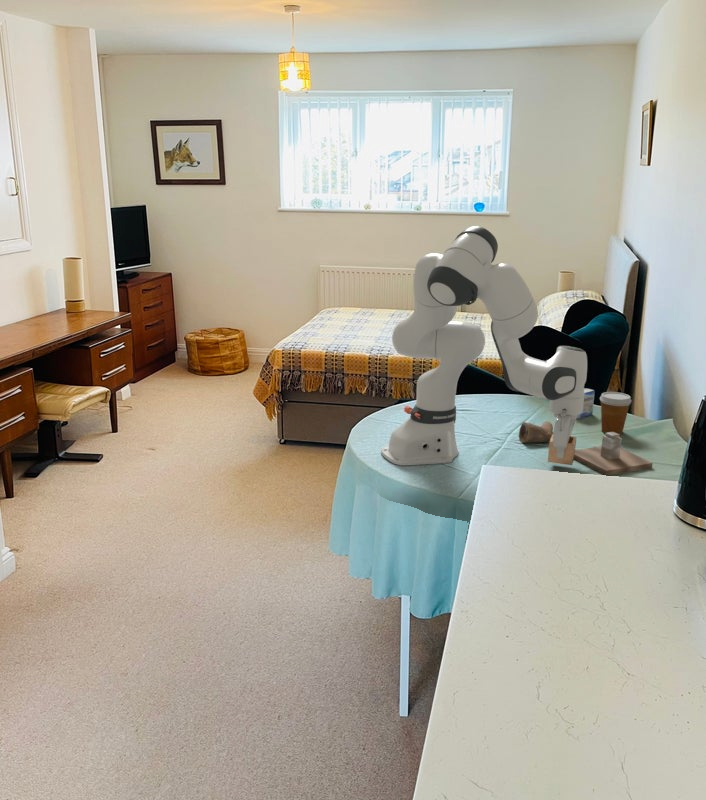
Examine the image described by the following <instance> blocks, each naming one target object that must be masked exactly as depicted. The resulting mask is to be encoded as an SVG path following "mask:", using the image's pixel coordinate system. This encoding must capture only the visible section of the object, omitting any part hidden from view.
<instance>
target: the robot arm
mask: <svg viewBox="0 0 706 800" xmlns="http://www.w3.org/2000/svg"><path fill="white" fill-rule="evenodd" d="M498 249H499V245H498V240H497V238H496V237H495V235H494V234H493V233H492V232H490V231H489V230H488V229H486V228H484V227H481V226H478V225H475V226H473V225H472V226H469V227H467V228H465V229H464V230H463V231H461V232H460V233H459V234H458V235H457V236H456V238H455V239H454V240H453V241H452V242H451V244H450V245H449V246H448V247H447V248H446V249H445V251H444V253H442V254H441V253H439V252H431V253H427V254H425V255H424V256H421V257H420V258H419V259H418V260H417V262H416V265H415V267H414V275H413V297H414V306H413V307H414V310H413V313H412V314H411V315H410V316H408V317H407V318H405V319H403V320H401V321H400V322H398V323H397V325H396V326H395V327H394V329H393V332H392V336H391V338H392V339H391V340H392V345H393V348H394V349H395V351H396V353H397V354H398V355H402V356H405V357H408V358H413V359H424V360H425V359H428V360H437V361H439V365H438V366H436V367H435V368H432V369H430V370H427V371H426V372H424V373H422V374H421V375H420V376H418V378H417V381H416V401H415V402H416V403H415V404H414V406H413V408H412V407H410V406H409V405H406V406H404V408H403V411H404V412H405V413H406V414H407V415H410V418H408V419H407V420H406V421H404V422H403V423H402V424H401V425H399V427H397V428H395V429H394V430H393V431H392V432H391V434H390V437H389V442H388V443H389V444H388V445H386V446H383V447H381V451H380V452H381V455H382V456H383V458H384V459H386V460H387V461H389V462H391V463H392V464H395V465H399V466H417V465H435V464H451V463H452V462H453V459H454V458H456V457H457V456H458V455H459V451H458V450H459V449H458V446H457V439H456V430H455V429H456V428H455V424H456V420H457V419H456V418H457V405H456V394H457V387H458V381H459V378H460V376H461V374H462V372H463V371H464V370H465V368H466V367H467V366H468V365H469V364H470V363H471V362H472V361H475V360H476V359H477V358H479V357H480V355H482V353H483V351H484V348H485V346H486V345H485V343H486V338H485V334H484V331H483V330H482V328H481V327H480V326H479V324H475V323H472V322H466V321H463V320H461V321H460V320H453V319H454V317H455V316H456V314H457V311H458V306H462V305H467V306H469V305H472V304H474V303H475V302H476V301H477V299H479V300H480V301H481V302H482V303H483V305H484V306H485V308H486V311H487V312H488V315H489V317H490V319H491V322H490V323H491V324H490V332H491V336H492V339H493V342H494V345H495V348H496V351H497V354H498V356H499V359H500V362H501V366H502V372H503V373H502V374H503V380H504V383H505V385H506V387H507V388H508V389H510V390H512V391H514V392H518V393H524V394H527V395H530V396H533V397H537V398H540V399H542V400H548V401H549V411H550V412H552V413H553V416H554V418H555V419H554V420H555V421H554V424H553V425H554V426H553V432H552V434H553V446H554V447H557V457H558V458H563V457H564V450H565V448H566V446H567V444H568V441H569V438H570V436H572V432H573V430H574V427H575V425H576V420H577V419H578V418H577V417H578V415H579V414H581V413H583V406H584V397H585V393H584V388H585V384H586V382H587V377H588V375H587V374H588V355H587V353H586V351H585V350H584V349H582V348H580V347H579V348H578V347H575V346H571V345H559V346H558V347H556V351H555V354H554V355H553V356H551V358H549V359H546V360H544V359H543V360H541V359H538V358H535V357H532V356H529V354H526V353H525V352H524V351H523V350H522V347H521V343H520V340H519V339H520V338H522V337H524V336H525V335H527V334H528V333H530V332H531V331H532V330H533V328H534V327H535V325H536V323H537V321H538V318H539V310H538V307H537V304H536V301H535V299H534V297H533V295H532V293H531V290H530V288H529V287H528V285H527V283H526V282H525V280H524V278H523V277H522V276H521V273H519V272H518V271H517V269H516V268H515V267H514V266H513V265H511V264H509V263H505V262H504V263H503V262H501V263H495V264H492V263H493V262H494V261H495V258H496V256H497V253H498Z"/></svg>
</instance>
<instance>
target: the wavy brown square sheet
mask: <svg viewBox="0 0 706 800" xmlns="http://www.w3.org/2000/svg"><path fill="white" fill-rule="evenodd" d="M622 439H623V438H622V437H620V434H617V433H615V432H608V433H605V435H602V440H601V446H596V447H595V446H594V447H589V448H582V449H575V457H574V461H577V462H578V463H581V464H582V465H585V466H586V467H589V468H591V469H592V470H595V472H598V473H599V474H601V475H604V476H605V475H608V476H613V475H619V474H624V473H629V472H630V473H631V472H637V471H642V470H648V469H652V468H653V462H652V461H650V460H648V459H646V458H644V457H643V458H642V457H641V456H638V455H637V454H635V453H631V452H630V451H628V450H626V449H623V448H621V447H622Z"/></svg>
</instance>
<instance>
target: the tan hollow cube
mask: <svg viewBox="0 0 706 800" xmlns="http://www.w3.org/2000/svg"><path fill="white" fill-rule="evenodd" d="M548 442H549V443H548V455H547V463H552V464H559V465H568V466H573V465H574V461H575V459H574V457H575V450H576V445H577V436H572V435H570V438H569V441H568V444H567V446H566V448H565V450H564V457H563V458H558V457H557V447H554V446H553V433H552V437H551V439H550V441H548Z"/></svg>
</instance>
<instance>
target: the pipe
mask: <svg viewBox="0 0 706 800" xmlns="http://www.w3.org/2000/svg"><path fill="white" fill-rule="evenodd" d="M553 432H554V426H553V424H552V422H550V421H545V422H544V423H543V422H542V424H541V425H540V426H539V425H537V424H534V423H531V422H530V423H529V422H527V421H523V422H522V423H521V425H520V428H519V432H518V439H519V442H520V443H521V444H525V443H527V444H538V443H546V442H547V443H548V442H550V439H551V437H552V434H553Z"/></svg>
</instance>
